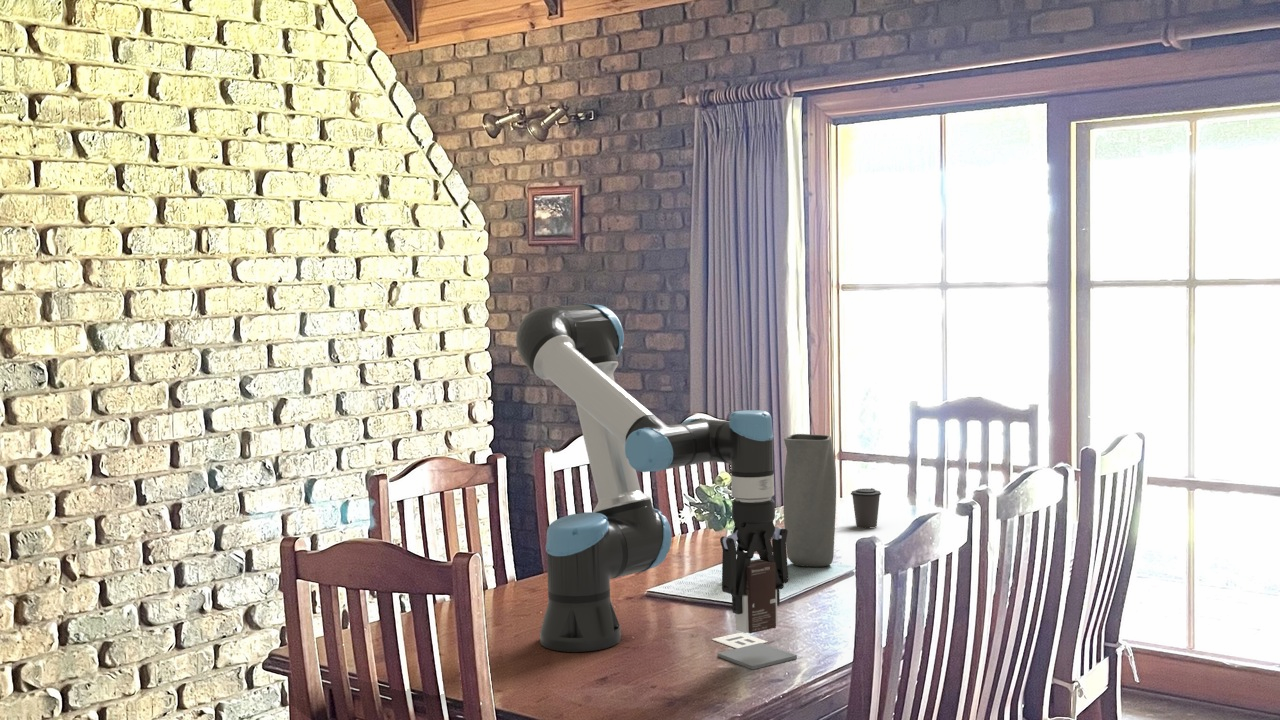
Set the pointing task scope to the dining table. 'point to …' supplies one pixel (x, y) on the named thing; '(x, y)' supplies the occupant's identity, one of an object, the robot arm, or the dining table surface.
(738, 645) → the tile
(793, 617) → the dining table surface
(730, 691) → the dining table surface
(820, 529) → the vase
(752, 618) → the box
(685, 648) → the dining table surface
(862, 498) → the coffee cup
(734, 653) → the coaster
